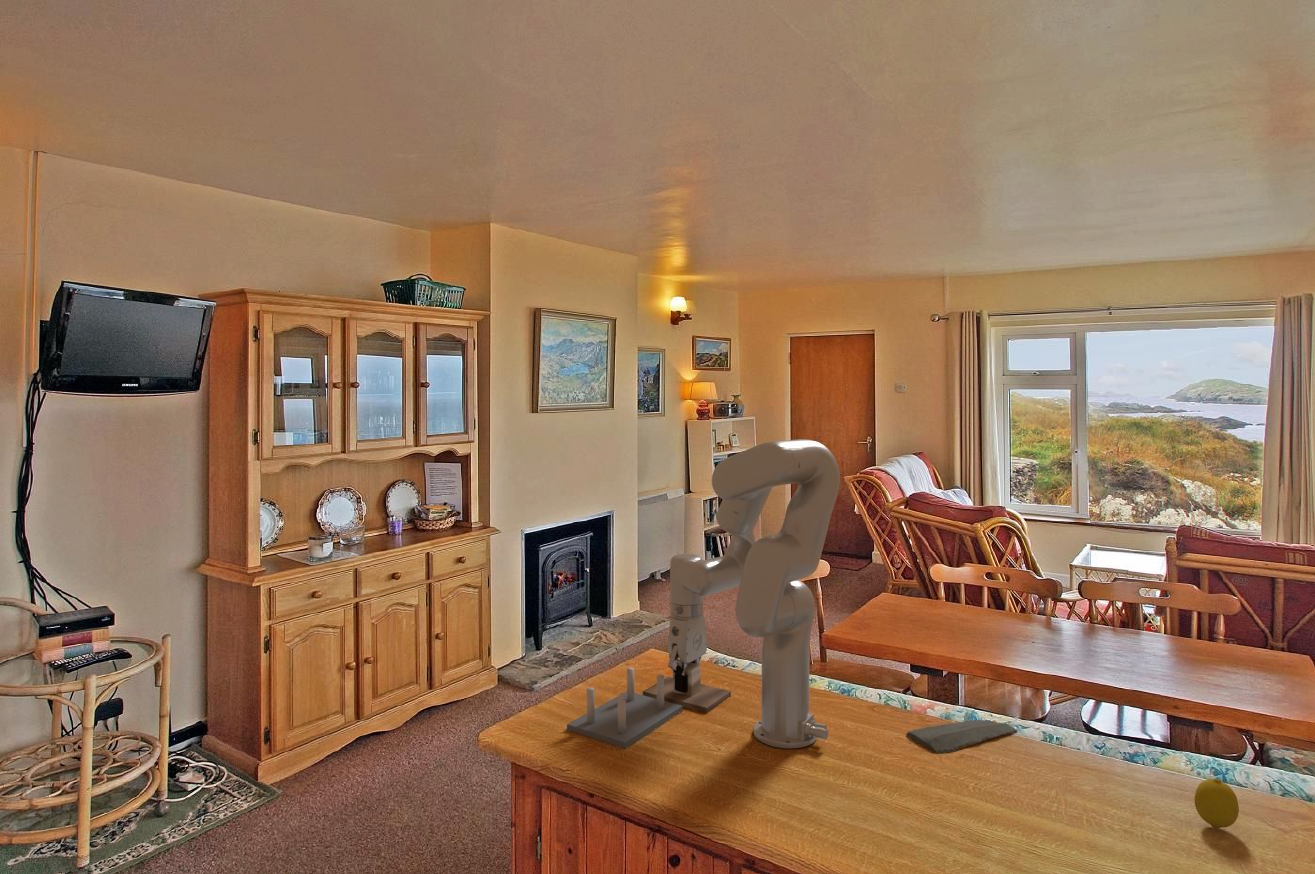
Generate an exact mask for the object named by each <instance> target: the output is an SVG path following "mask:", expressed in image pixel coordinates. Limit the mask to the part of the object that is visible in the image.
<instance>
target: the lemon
mask: <svg viewBox="0 0 1315 874" xmlns="http://www.w3.org/2000/svg"><path fill="white" fill-rule="evenodd" d="M1238 801H1239V800H1238V798H1237V795H1236V793H1235V790H1233V789H1232V788H1231V787H1230V786H1229V785H1228V784H1227V783H1225V782H1223V781H1221V779H1219V778H1217V777H1216V778H1213V779H1212V778H1210V779H1205V780H1203V781H1202V782H1200V783H1199V784H1198V785H1197V787H1196V790H1195V793H1194V807H1195V809H1196V812H1197V813H1198V815H1199V817H1200V818H1201V819H1202V820H1203V821H1204V822H1205V823H1207V825H1208V824H1209V825H1210V826H1211V827H1212V828H1213V829H1215V830H1220V829H1221V828H1229V827H1231V826H1233V824H1235V823H1236V821H1237V820H1238V817H1239V812H1240V811H1239V810H1240V809H1239V808H1240V807H1239V802H1238Z"/></svg>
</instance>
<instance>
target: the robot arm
mask: <svg viewBox="0 0 1315 874" xmlns="http://www.w3.org/2000/svg"><path fill="white" fill-rule="evenodd" d="M840 475H841V473H840V467H839V464H838V463H837V460H836V458H835V456H834V454H833V453H832V452H831V450H830V449H829V448H828V447H827V446H825V445H824V444H822V443H821V442H819V441H815V440H813V439H812V440H811V439H805V438H804V439H801V438H800V439H788V440H773V441H766V442H762V443H760V444H757V445H754V446H752V447H749V448H747V449H745V450H742V451H740V452H737V453H735V454H733V455H731V456H728V457H726V458H724V459H722V460H721V461H720V462H718V463H717V464H716V466H715V468H714V470H713V471H712V475H711V485H712V490H713V492H714V493H715V494H716V496H718V498H720V499H722V501H721V503H720V504H719V507H718V510H717V511H716V514H715V520H716V523H717V525H718V526H719V527H720V528H721V529H722V530H723V531H725V532H726V533H728V534H730V535H731V538H730V540H729V544H728V546H727V548H726V551H725V552H724V555H722V556H718V557H713V558H709V559H704V560H703V558H702V557H701V556H700V555H698V554H694V553H679V554H675V555H673V556H672V557H671V559H670V564H669V565H670V566H669V567H670V568H669V571H670V574H669V575H670V577H669V578H670V579H669V581H670V582H669V583H670V586H669V587H670V589H669V590H670V591H669V595H670V598H669V601H670V604H669V605H670V606H669V607H670V609H669V611H670V614H669V615H670V620H669V621H670V622H669V629H668V641H667V642H668V645H667V646H668V647H667V648H668V658H669V661H668V663H667V667H669V668H670V669H671V670H672V674H673V673H674V674H675V690H676V691H680V692H684V693H686V692H688V675H686V669H687V664H688V663H693V664H698V665H701V658H702V657H703V656H704V655H705V654H706V653H707V651H708V649H707V648H708V641H707V625H706V617H705V612H704V597H708V596H712V595H715V594H718V593H722V592H726V591H730V590H732V589H736V588H737V587H739V588H738V592H737V596H736V602H735V616H736V617H735V618H736V621H737V624H738V625H739V627H740V629H741V631H743V632H744V633H745V634H746V635H748V636H750V637H753V638H762V645H761V702H760V703H761V704H760V705H761V719H760V720H758V721H757V722H756V723H754V725H753V735H754V736H755V738H756V739H757V740H758V741H760V742H761V743H763V744H765V745H767V746H770V747H775V748H780V749H801V748H804V747H809V746H810V745H812V744H814V743H815V742H816V741H817V739H821V740H827V739H828V737H829V729H827V727H828V726H827V724H824V723H818V722H816V720H815V713H811V712H810V661H811V660H810V657H811V656H810V654H811V652H810V649H811V635H812V634H811V633H812V629H813V628H812V626H813V622H814V616H815V607H816V606H815V603H816V602H815V599H814V596H813V595H814V594H813V592H812V591H811V589H810V588H809V586H807V584H805V583H804V582H803V581H801V580H802V579H805V578H807V577H810V576H811V575H813V574H814V573H815V572H816V571H817V569H818V567H819V564H820V562H821V561H820V560H821V557H822V552H823V548H824V545H825V541H826V539H827V534H828V529H829V525H830V520H831V516H832V513H833V510H834V507H835V503H836V500H837V497H838V494H839V489H840V484H841V476H840ZM793 484H798V486H797V489H796V490H795V492H794V493H793V495H792V497H791V498H790V500H789V503H788V504H787V507H786V509H785V515H784V519H783V523H782V526H781V529H780V530H779V531H778V532H777V533H774V534H769V535H766V536H762V537H760V538H759V539H757V540H756V537H755V534H754V529H755V528H756V525H757V522H758V521H759V518H760V516H761V513H762V511H763V509H764V507H765V505H766V502H767V500H768V498H769V496H770V494H771V491H772V489H773V487H778V486H786V485H793ZM679 663H680V664H682V668H681V666H679Z"/></svg>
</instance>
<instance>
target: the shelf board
mask: <svg viewBox="0 0 1315 874" xmlns="http://www.w3.org/2000/svg"><path fill="white" fill-rule="evenodd" d="M679 666H681V668H682V664H680V663H679ZM701 668H702V667H701V664H700V665H698V664H693V663H688V664H687V669H686V675H688V692H686V693H684V692H680V691H676V690H675V674H674V673H673V672H672V676H667V677H664V701H667V702H670V703H674V704H678V705H682V706H683V708H685V707H687V708H686V709H689V708H690V709H689V710H693V709H694V711H696V710H697V711H698V712H702V713H704V712H706V713H705V714H709V713H710V712H711V711H713V710H714V709H715V708H717V707H718V706H720V705H721V704H722V703H724V702H725V701H727V700H728V699H729V698H731V697H732V691H731V690H728V689H722V688H719V687H715V686H709V685H705V684H702V683H701V682H702V681H701V679H702V678H701ZM642 695H644V696H648V697H651V698H655V699H657V682H656V683H655V684H653V685H651V686H649V687H648V688H646V689H645V690H642ZM728 697H729V698H728ZM727 698H728V699H727ZM726 699H727V700H726ZM724 700H725V701H724ZM723 701H724V702H723ZM719 704H720V705H719Z"/></svg>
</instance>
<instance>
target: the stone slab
mask: <svg viewBox="0 0 1315 874" xmlns="http://www.w3.org/2000/svg"><path fill="white" fill-rule="evenodd" d="M1016 732H1018V730H1017V728H1015V727H1014V726H1012V725H1010V724H1008V723H1006V722H1004V723H1003V722H997V721H992V720H991V721H990V720H980V719H979V720H977V719H975V720H974V719H973V720H968V721H967V720H966V721H961V722H960V721H959V722H949V723H945V724H938V725H934V726H927V727H921V728H916V729H912V730H909V731H907V733H906V734H905V735H906V736H907V737H908V738H909V739H910V740H913V741H914V742H916V743H918V744H919V745H921V744H922V745H921V746H923V747H924V748H926V747H927V748H926V749H928V750H930V751H932V752H933V753H935V754H938V755H939V754H944V755H945V754H951V753H955V752H956V751H959V750H962V749H964V748H966V747H969V746H972V745H975V744H979V743H981V742H983V741H987V740H990V739H994V738H997V737H1000V736H1005V735H1009V734H1011V735H1012V734H1015V733H1016Z"/></svg>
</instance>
